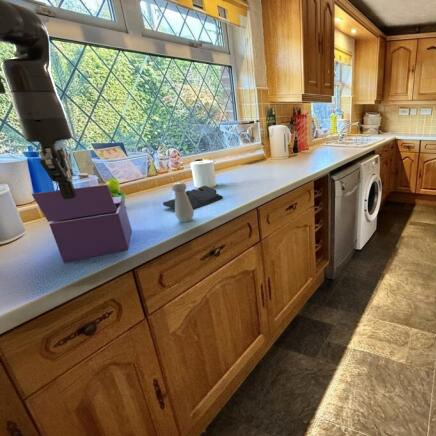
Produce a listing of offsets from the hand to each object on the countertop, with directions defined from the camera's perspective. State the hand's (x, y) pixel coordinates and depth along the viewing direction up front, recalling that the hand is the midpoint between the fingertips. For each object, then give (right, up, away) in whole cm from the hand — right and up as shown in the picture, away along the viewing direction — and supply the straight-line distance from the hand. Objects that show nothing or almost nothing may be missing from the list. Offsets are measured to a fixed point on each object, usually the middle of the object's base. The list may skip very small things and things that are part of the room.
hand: (70, 198), depth 67 cm
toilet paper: (-4, +12, +84) cm, 85 cm away
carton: (-7, -12, +18) cm, 23 cm away
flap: (-2, -1, +5) cm, 6 cm away
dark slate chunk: (+3, +2, +56) cm, 56 cm away
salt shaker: (+9, -5, +36) cm, 37 cm away
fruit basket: (-29, 0, +55) cm, 62 cm away
